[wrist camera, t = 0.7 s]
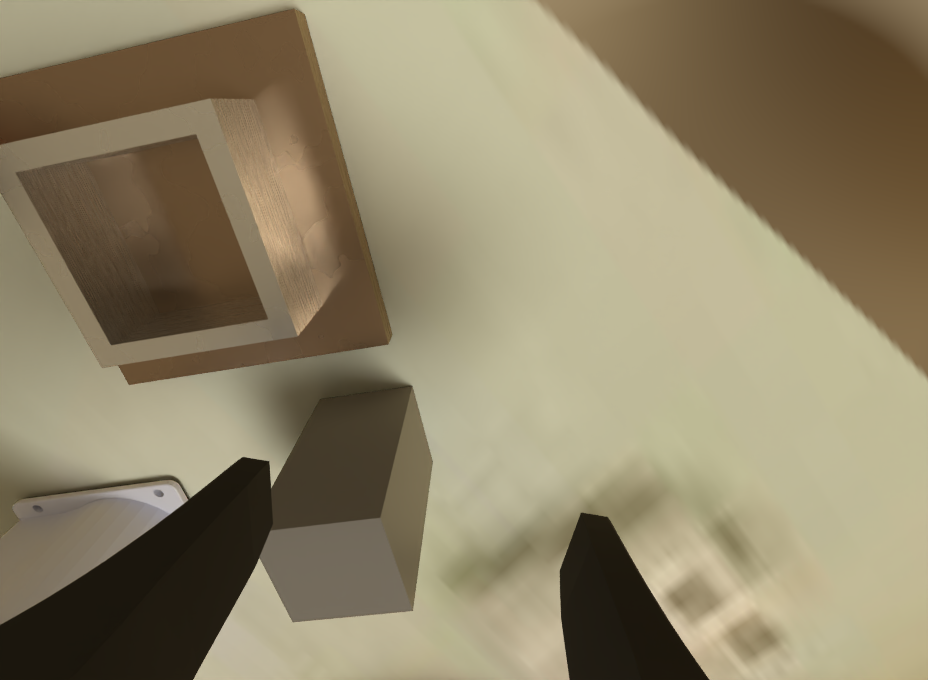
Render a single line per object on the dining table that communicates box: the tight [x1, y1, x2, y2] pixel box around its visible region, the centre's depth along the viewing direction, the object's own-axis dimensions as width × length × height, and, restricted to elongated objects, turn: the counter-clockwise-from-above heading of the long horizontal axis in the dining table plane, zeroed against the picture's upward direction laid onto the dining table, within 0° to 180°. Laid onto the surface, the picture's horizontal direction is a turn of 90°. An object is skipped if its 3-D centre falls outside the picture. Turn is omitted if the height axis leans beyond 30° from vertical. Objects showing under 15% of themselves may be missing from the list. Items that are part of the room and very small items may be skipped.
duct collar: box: [0, 9, 392, 385], centre depth 18 cm, size 12×12×4 cm
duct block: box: [259, 386, 433, 622], centre depth 20 cm, size 4×4×8 cm
